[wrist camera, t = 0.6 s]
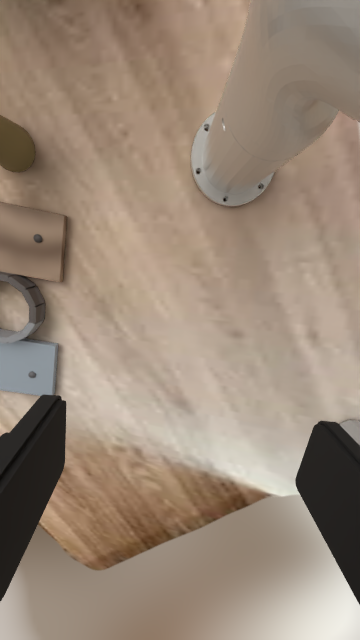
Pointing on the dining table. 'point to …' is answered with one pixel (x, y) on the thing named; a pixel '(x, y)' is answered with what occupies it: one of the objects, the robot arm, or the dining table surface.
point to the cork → (15, 146)
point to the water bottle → (352, 429)
